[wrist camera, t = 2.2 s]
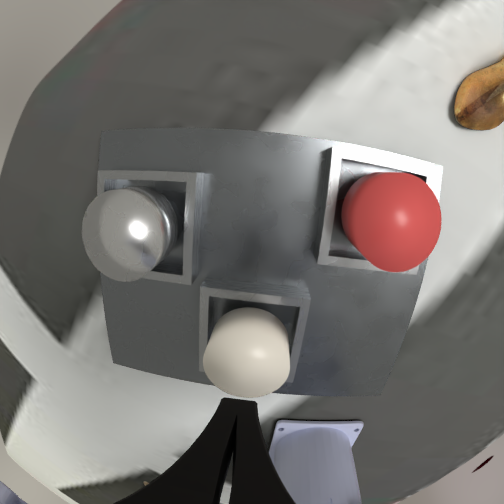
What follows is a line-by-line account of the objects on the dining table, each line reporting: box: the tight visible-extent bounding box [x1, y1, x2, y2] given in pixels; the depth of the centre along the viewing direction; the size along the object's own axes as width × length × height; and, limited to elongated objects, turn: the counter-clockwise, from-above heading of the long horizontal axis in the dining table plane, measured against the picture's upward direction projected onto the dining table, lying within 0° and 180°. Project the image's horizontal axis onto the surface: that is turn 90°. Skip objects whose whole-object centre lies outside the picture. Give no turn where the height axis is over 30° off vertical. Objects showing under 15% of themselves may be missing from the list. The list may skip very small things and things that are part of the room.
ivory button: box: [203, 307, 290, 398], centre depth 15 cm, size 4×4×2 cm
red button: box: [341, 172, 441, 272], centre depth 12 cm, size 4×4×2 cm
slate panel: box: [97, 128, 443, 396], centre depth 17 cm, size 17×21×3 cm
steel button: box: [82, 186, 178, 282], centre depth 13 cm, size 4×4×2 cm
